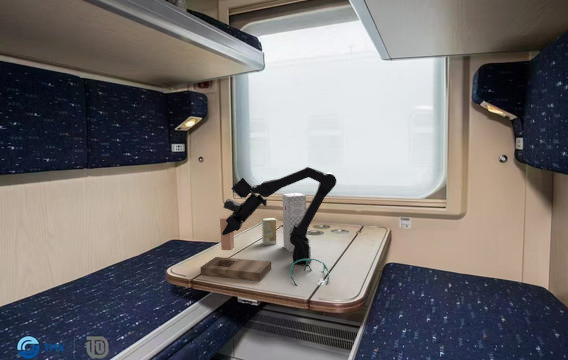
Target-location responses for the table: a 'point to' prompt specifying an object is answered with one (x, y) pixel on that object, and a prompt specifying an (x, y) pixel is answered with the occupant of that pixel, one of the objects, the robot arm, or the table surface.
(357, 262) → the table surface
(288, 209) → the box
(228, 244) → the terracotta peg block
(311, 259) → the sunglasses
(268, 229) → the skincare box
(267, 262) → the wooden peg hole board
